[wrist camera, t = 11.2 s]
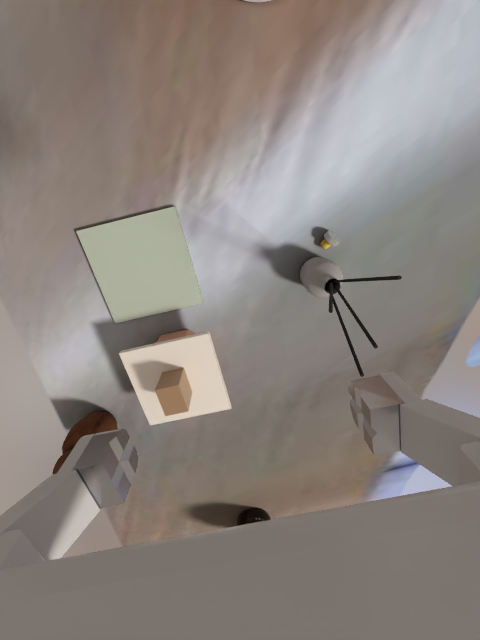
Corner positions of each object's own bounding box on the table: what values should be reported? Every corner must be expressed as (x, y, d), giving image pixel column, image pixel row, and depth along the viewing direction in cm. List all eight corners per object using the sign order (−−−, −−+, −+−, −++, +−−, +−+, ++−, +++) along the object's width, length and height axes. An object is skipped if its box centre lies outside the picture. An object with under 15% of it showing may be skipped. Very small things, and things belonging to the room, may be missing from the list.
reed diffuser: (323, 305, 42) (396, 385, 23) (276, 297, 41) (314, 373, 23) (345, 233, 38) (452, 258, 19) (294, 223, 37) (355, 240, 19)
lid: (120, 350, 38) (106, 370, 34) (209, 330, 37) (206, 347, 33) (151, 421, 42) (142, 446, 38) (231, 405, 42) (231, 428, 37)
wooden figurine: (114, 401, 47) (64, 484, 33) (128, 428, 49) (87, 517, 35) (75, 411, 47) (10, 497, 33) (91, 437, 50) (36, 528, 36)
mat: (78, 230, 37) (75, 231, 37) (175, 206, 36) (174, 206, 36) (116, 321, 42) (115, 323, 41) (203, 302, 41) (203, 303, 40)
